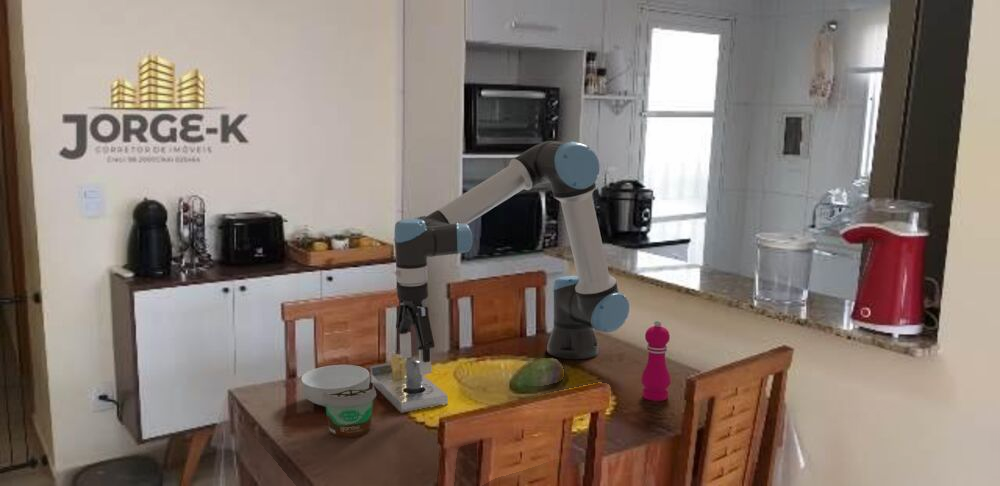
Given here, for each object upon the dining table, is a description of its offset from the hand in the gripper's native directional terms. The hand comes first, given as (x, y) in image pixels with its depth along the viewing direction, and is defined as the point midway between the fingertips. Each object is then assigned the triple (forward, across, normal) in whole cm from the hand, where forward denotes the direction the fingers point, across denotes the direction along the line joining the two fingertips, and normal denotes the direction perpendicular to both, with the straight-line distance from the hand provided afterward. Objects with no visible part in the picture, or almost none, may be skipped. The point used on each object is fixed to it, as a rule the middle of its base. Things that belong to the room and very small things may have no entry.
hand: (415, 365), depth 199 cm
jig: (+9, -5, -1) cm, 10 cm away
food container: (+8, +14, -21) cm, 26 cm away
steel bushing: (+9, 0, -1) cm, 9 cm away
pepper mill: (+10, +26, +54) cm, 61 cm away
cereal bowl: (+9, -7, -19) cm, 22 cm away
